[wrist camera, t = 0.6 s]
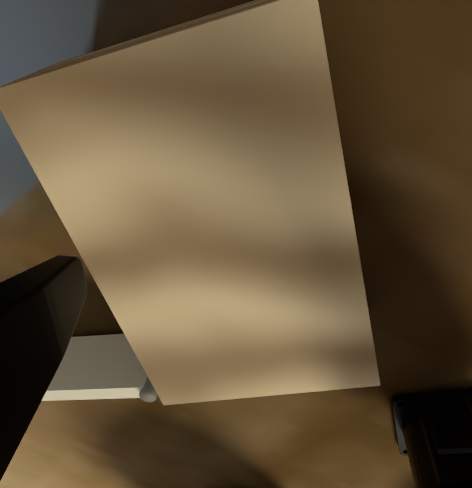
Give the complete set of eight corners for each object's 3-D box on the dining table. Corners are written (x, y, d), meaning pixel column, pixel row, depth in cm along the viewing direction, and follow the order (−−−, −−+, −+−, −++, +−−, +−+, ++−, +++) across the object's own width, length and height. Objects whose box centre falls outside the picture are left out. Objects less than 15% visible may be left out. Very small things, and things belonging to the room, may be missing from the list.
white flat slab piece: (174, 326, 29) (153, 390, 25) (178, 337, 30) (158, 401, 25) (-50, 341, 33) (-103, 399, 28) (-43, 350, 33) (-94, 409, 29)
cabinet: (365, 311, 27) (380, 385, 22) (184, 335, 30) (163, 405, 25) (310, -18, 18) (316, -11, 13) (59, 62, 21) (-10, 90, 16)
